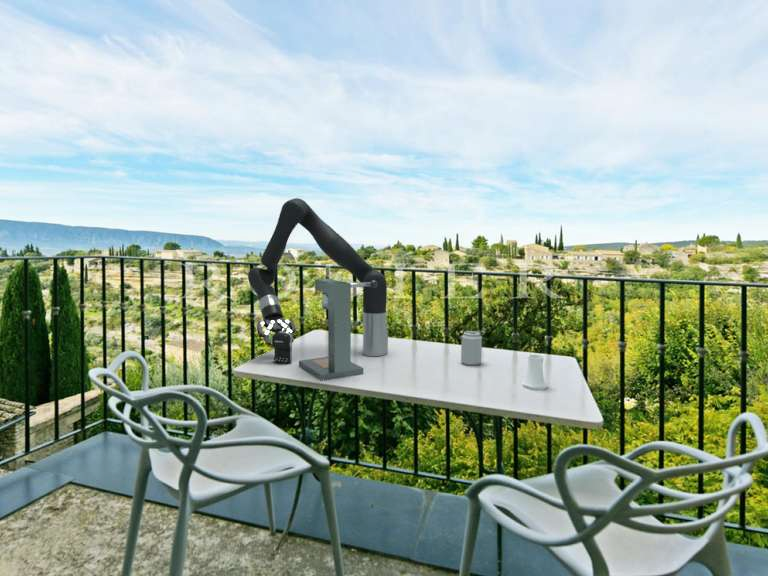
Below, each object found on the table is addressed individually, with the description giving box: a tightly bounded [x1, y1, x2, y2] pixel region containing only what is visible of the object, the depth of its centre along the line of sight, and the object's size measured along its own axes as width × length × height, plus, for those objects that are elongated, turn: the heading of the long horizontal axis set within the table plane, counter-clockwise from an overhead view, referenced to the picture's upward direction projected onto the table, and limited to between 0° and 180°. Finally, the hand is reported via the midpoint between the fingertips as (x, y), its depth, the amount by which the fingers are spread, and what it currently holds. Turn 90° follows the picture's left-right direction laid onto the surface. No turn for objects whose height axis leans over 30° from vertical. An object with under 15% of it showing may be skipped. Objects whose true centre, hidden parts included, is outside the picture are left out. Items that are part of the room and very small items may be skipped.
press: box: [298, 278, 378, 381], centre depth 176 cm, size 27×20×32 cm
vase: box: [521, 354, 548, 391], centre depth 158 cm, size 8×8×10 cm
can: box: [460, 330, 483, 367], centre depth 185 cm, size 8×8×12 cm
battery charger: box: [271, 331, 293, 365], centre depth 183 cm, size 7×4×11 cm, turn 69°
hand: (280, 343), depth 183 cm, fingers open, 8 cm apart
